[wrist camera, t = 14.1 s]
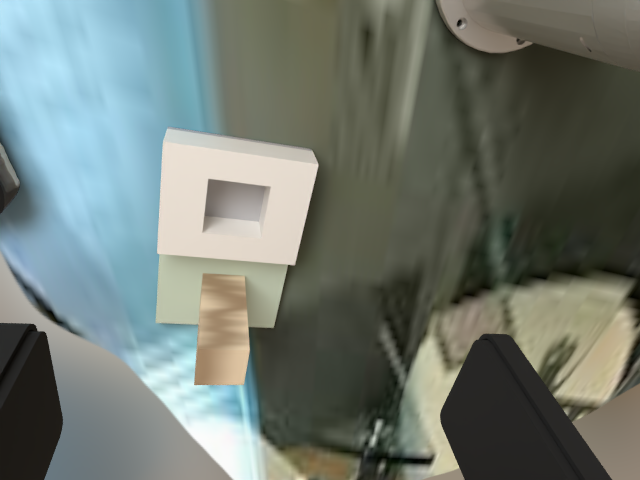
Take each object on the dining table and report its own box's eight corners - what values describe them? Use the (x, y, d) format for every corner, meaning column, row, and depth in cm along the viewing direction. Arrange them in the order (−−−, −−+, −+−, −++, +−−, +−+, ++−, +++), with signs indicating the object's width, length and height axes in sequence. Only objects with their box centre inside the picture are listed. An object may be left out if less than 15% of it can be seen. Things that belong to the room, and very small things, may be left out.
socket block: (311, 149, 39) (318, 164, 36) (290, 244, 44) (294, 265, 41) (167, 126, 36) (163, 141, 33) (161, 232, 41) (157, 253, 38)
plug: (244, 275, 44) (249, 350, 36) (239, 307, 46) (243, 384, 38) (202, 273, 43) (197, 349, 35) (199, 305, 45) (194, 384, 37)
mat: (288, 253, 45) (289, 258, 44) (272, 321, 49) (273, 327, 48) (161, 241, 41) (160, 247, 41) (157, 316, 46) (155, 322, 45)
